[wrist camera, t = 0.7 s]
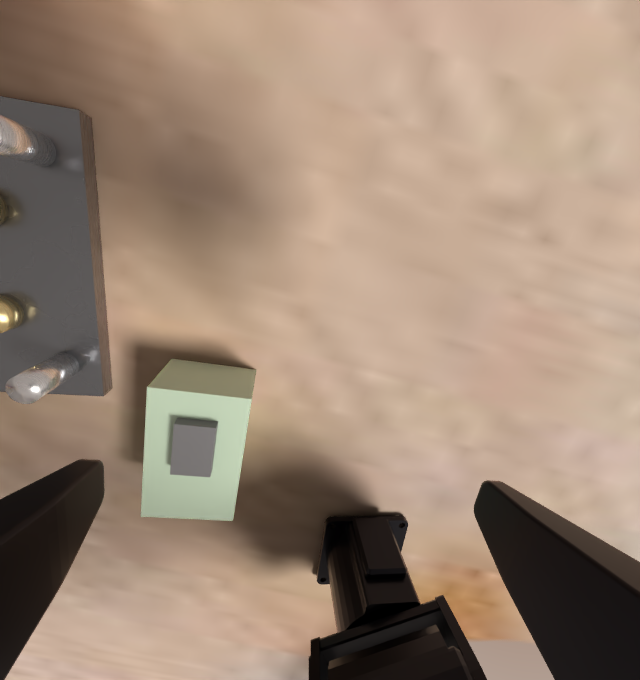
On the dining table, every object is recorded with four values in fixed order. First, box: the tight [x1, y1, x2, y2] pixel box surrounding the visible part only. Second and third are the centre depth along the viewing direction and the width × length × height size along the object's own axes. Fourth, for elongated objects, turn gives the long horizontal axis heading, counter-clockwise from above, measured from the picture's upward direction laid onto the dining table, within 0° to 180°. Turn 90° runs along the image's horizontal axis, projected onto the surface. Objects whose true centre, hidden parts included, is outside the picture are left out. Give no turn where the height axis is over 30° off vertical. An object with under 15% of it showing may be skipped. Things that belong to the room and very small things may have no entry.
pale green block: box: [141, 359, 256, 521], centre depth 19 cm, size 8×5×5 cm, turn 168°
